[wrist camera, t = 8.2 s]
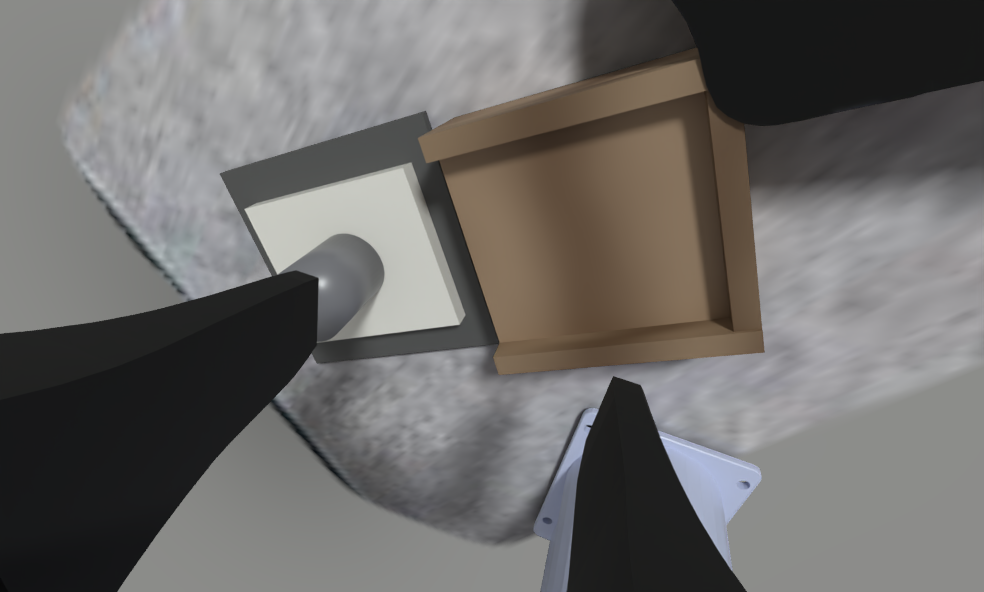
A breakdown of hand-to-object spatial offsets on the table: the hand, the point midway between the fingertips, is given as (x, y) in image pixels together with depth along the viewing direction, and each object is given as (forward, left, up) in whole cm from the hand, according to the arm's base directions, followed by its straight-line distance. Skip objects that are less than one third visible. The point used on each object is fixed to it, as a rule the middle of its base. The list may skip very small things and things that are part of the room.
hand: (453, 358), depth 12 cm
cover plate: (-4, +7, -9) cm, 12 cm away
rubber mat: (-4, +7, -9) cm, 12 cm away
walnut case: (+1, -2, -9) cm, 10 cm away
